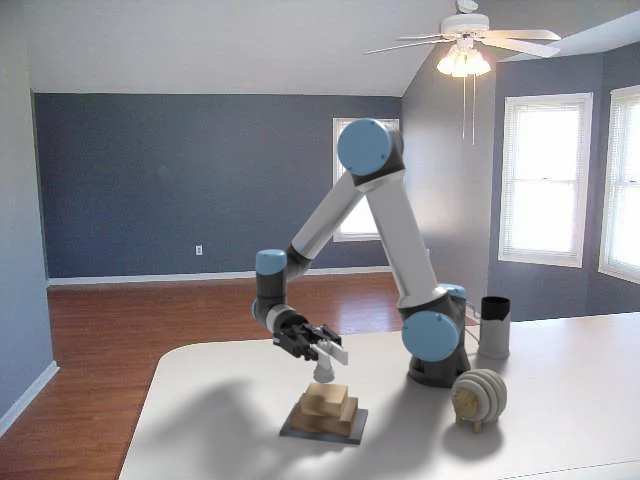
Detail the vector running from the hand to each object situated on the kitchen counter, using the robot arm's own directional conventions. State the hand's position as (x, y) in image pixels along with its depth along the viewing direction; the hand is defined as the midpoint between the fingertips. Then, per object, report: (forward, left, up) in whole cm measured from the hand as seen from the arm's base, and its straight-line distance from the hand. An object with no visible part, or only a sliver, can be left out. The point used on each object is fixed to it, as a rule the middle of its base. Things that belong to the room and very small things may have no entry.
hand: (337, 360), depth 98 cm
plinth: (+3, -4, -16) cm, 17 cm away
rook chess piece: (+4, -4, -6) cm, 8 cm away
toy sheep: (-28, -11, -16) cm, 34 cm away
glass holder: (-32, -51, -16) cm, 62 cm away
